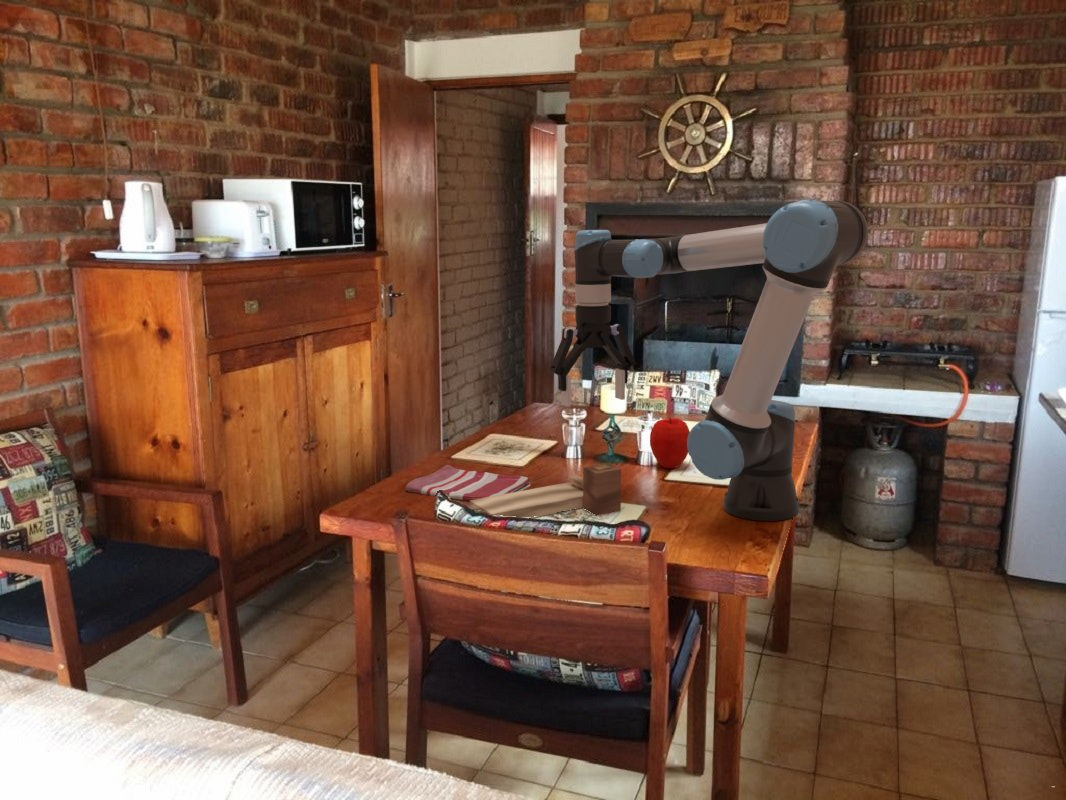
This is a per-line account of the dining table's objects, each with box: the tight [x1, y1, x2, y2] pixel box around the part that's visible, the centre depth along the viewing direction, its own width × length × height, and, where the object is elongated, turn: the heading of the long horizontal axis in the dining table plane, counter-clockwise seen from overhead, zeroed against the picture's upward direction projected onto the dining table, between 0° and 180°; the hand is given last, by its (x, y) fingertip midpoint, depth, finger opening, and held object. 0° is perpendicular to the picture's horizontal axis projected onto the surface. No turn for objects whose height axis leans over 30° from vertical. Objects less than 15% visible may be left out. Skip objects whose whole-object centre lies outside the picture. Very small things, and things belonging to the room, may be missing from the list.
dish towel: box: [405, 464, 531, 503], centre depth 202 cm, size 17×23×3 cm
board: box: [469, 482, 583, 519], centre depth 189 cm, size 10×28×2 cm, turn 120°
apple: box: [649, 417, 691, 469], centre depth 217 cm, size 10×10×12 cm
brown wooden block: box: [567, 463, 622, 517], centre depth 190 cm, size 14×6×9 cm, turn 30°
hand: (593, 402), depth 195 cm, fingers open, 13 cm apart
